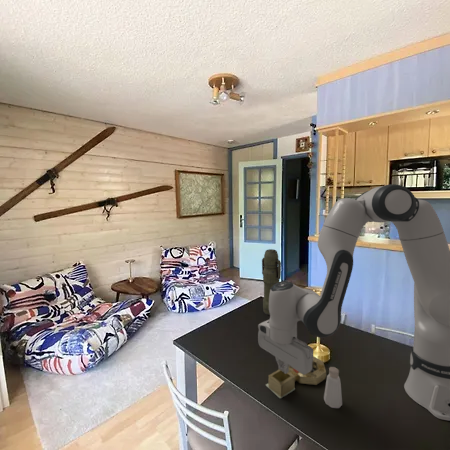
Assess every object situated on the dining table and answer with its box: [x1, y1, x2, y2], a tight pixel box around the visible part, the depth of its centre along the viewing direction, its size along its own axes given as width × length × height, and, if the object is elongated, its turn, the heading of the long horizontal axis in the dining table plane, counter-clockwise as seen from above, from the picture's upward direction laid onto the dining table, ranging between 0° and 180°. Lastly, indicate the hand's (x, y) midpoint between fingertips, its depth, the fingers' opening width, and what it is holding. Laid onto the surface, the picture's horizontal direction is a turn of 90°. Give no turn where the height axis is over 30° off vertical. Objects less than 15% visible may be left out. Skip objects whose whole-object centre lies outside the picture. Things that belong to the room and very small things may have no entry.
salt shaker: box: [323, 366, 343, 409], centre depth 80 cm, size 5×5×11 cm
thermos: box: [261, 248, 282, 316], centre depth 141 cm, size 9×12×35 cm
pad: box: [265, 381, 296, 399], centre depth 87 cm, size 7×7×1 cm
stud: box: [307, 344, 315, 373], centre depth 93 cm, size 7×7×10 cm
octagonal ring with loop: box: [267, 355, 327, 398], centre depth 91 cm, size 23×13×4 cm, turn 125°
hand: (283, 371), depth 85 cm, fingers closed
